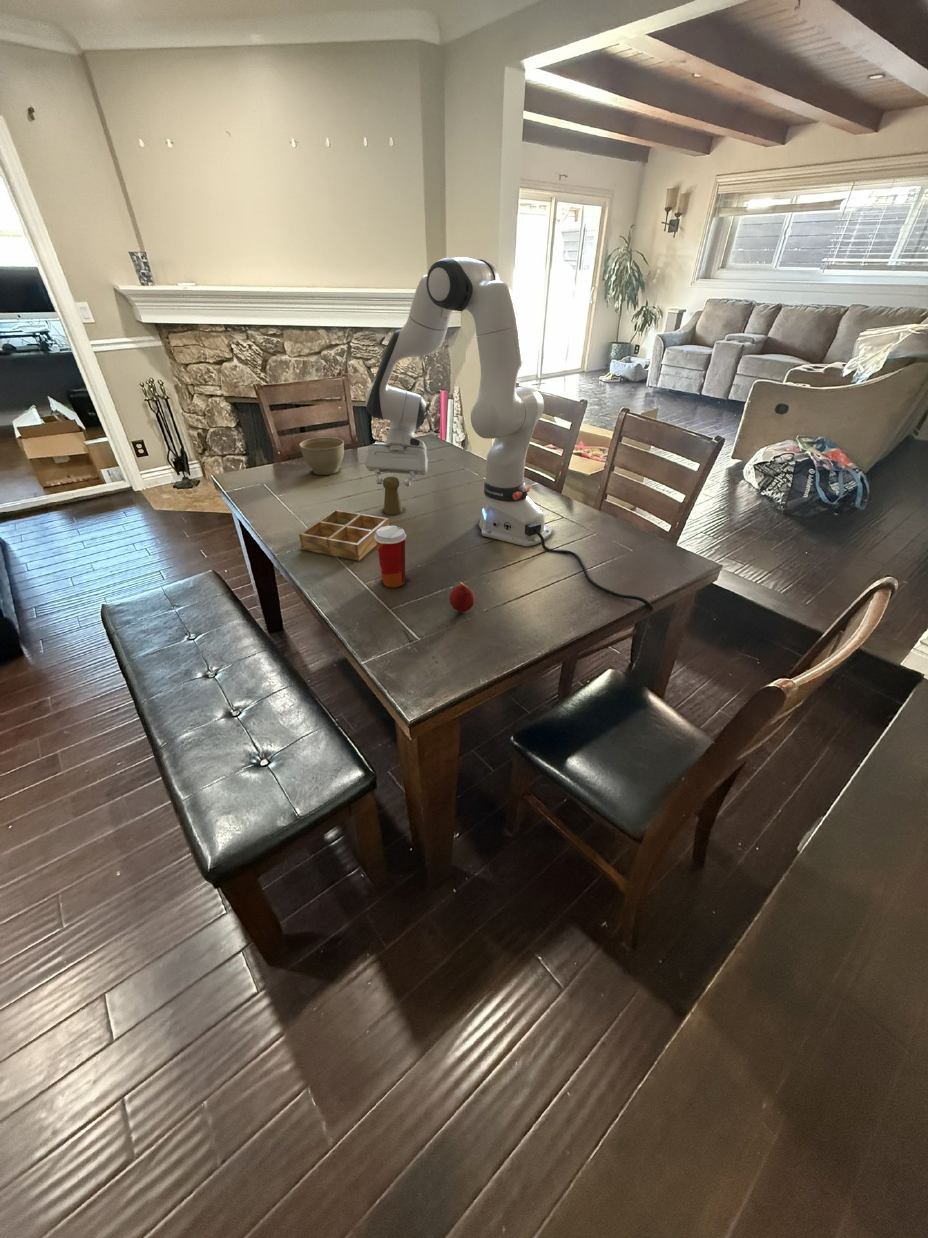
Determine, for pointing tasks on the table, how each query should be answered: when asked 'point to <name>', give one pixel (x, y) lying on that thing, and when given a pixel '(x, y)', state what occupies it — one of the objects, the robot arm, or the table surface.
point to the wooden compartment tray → (343, 534)
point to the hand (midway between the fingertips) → (393, 484)
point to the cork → (392, 496)
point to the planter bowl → (323, 454)
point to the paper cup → (391, 555)
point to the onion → (462, 598)
